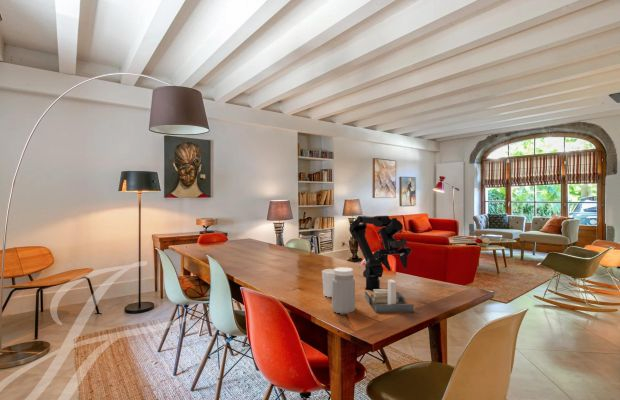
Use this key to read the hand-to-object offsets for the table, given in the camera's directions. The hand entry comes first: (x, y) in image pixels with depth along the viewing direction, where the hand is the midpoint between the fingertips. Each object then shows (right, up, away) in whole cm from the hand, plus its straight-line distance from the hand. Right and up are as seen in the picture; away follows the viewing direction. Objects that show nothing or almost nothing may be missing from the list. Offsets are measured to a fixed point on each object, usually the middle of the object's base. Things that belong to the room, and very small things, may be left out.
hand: (398, 269), depth 154 cm
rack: (-7, -15, -8) cm, 18 cm away
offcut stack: (-7, -15, -2) cm, 16 cm away
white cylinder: (-30, -15, +9) cm, 35 cm away
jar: (-27, -15, -13) cm, 34 cm away
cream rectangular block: (-6, -14, -14) cm, 20 cm away
